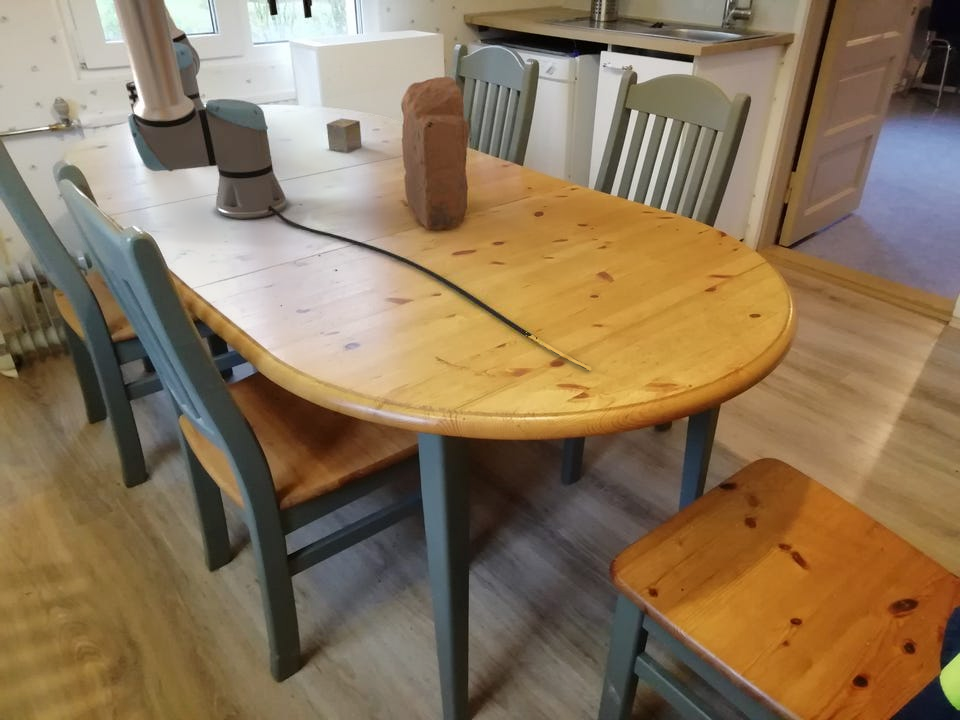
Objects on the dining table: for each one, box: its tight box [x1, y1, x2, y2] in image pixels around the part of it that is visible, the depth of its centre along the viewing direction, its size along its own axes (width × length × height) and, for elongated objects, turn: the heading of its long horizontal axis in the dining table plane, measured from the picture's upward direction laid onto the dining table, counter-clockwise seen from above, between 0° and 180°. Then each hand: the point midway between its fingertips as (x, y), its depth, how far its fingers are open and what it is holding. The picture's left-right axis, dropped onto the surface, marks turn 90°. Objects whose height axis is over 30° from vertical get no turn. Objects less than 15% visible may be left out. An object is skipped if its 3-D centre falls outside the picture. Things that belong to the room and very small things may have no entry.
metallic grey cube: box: [326, 117, 363, 153], centre depth 198 cm, size 6×7×7 cm
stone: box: [400, 76, 469, 231], centre depth 148 cm, size 22×11×28 cm, turn 18°
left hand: (291, 16), depth 222 cm, fingers open, 13 cm apart
